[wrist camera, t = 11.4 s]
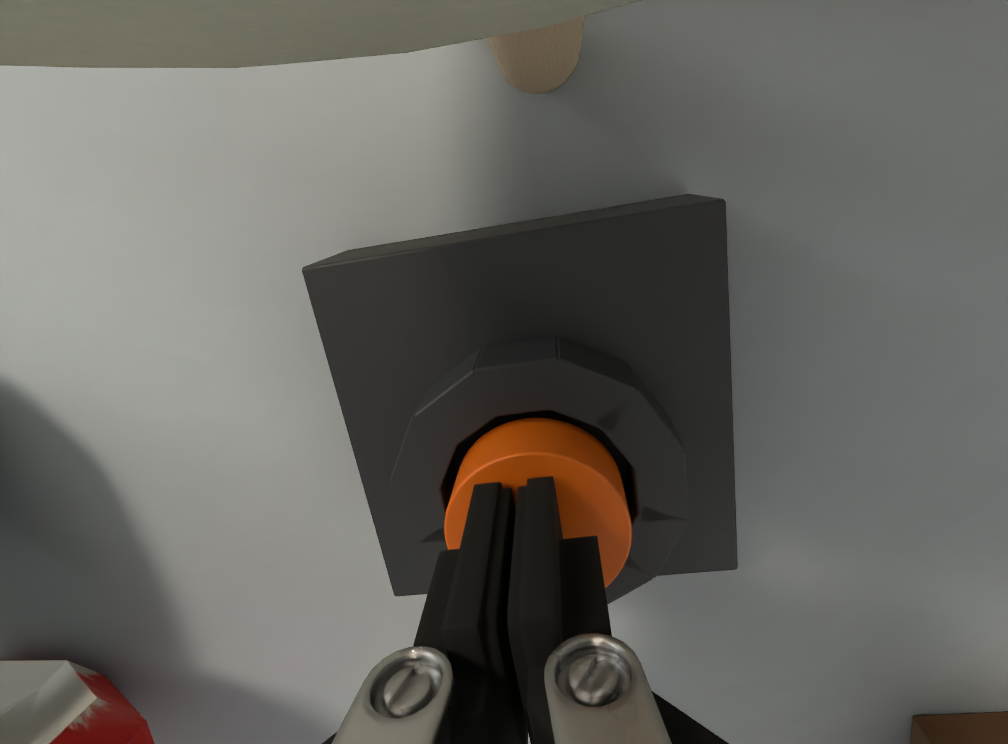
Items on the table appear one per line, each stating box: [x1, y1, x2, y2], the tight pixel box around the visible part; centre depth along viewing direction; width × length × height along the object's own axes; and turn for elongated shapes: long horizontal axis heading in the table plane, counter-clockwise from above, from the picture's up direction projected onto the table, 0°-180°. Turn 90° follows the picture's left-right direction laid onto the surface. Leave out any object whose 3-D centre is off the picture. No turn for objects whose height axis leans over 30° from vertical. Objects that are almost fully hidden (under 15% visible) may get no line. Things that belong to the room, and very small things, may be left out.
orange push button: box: [444, 418, 632, 588], centre depth 13 cm, size 4×4×2 cm
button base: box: [302, 194, 738, 604], centre depth 15 cm, size 10×10×5 cm
